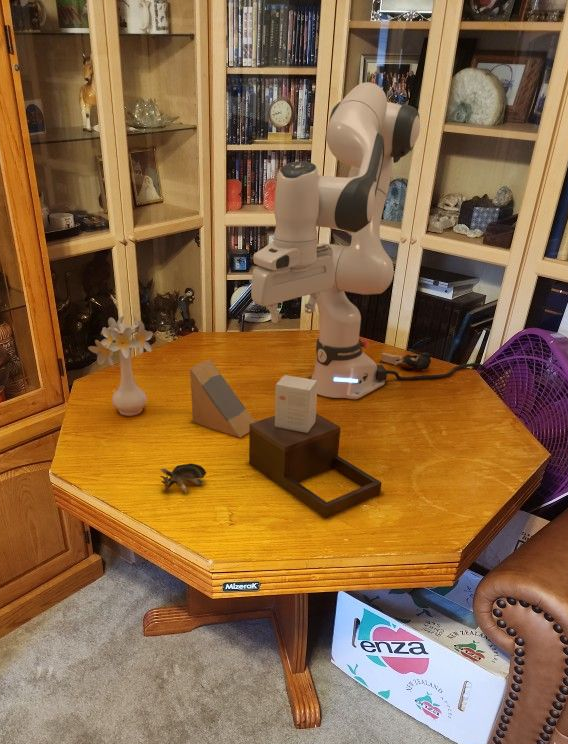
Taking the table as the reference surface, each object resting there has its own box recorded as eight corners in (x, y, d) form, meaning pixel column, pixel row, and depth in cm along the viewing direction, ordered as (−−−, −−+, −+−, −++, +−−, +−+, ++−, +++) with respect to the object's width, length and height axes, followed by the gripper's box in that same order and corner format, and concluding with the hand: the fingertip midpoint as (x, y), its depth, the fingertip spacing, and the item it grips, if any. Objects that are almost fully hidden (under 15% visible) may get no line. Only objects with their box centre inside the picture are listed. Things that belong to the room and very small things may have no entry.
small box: (315, 423, 150) (318, 380, 144) (307, 433, 146) (310, 390, 140) (282, 416, 153) (284, 374, 147) (273, 427, 149) (275, 383, 143)
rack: (301, 444, 164) (303, 405, 158) (380, 493, 145) (386, 452, 140) (248, 463, 156) (249, 424, 150) (325, 518, 138) (329, 475, 132)
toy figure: (377, 368, 204) (427, 374, 198) (379, 347, 201) (430, 353, 196) (383, 362, 210) (431, 368, 204) (385, 342, 207) (434, 348, 201)
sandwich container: (240, 438, 166) (240, 382, 157) (191, 422, 173) (189, 368, 165) (259, 425, 172) (259, 370, 163) (211, 410, 179) (209, 357, 170)
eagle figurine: (175, 500, 141) (211, 482, 144) (160, 469, 140) (198, 452, 143) (167, 500, 148) (202, 483, 151) (153, 471, 147) (189, 454, 150)
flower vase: (92, 424, 172) (79, 330, 158) (123, 394, 186) (114, 306, 172) (138, 431, 169) (129, 336, 155) (166, 401, 183) (160, 311, 169)
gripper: (323, 240, 143) (319, 303, 151) (246, 256, 133) (247, 323, 141) (343, 246, 139) (338, 310, 147) (265, 263, 129) (265, 331, 137)
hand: (293, 317), depth 144 cm, fingers open, 8 cm apart
